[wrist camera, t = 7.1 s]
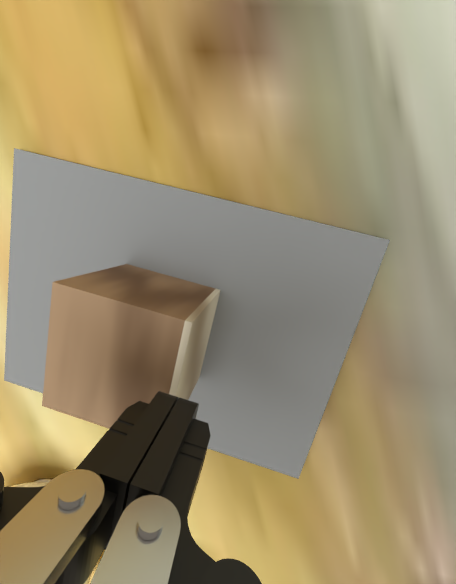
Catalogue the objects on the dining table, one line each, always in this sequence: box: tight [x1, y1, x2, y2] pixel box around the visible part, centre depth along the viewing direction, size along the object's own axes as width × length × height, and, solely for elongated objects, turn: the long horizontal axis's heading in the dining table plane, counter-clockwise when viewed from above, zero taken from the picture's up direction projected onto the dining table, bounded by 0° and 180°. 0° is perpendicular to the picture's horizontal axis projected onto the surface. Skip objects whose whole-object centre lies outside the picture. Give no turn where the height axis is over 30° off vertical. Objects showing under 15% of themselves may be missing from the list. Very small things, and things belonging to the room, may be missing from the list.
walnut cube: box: [42, 264, 220, 429], centre depth 15 cm, size 6×6×6 cm
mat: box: [4, 148, 390, 479], centre depth 18 cm, size 22×16×1 cm
